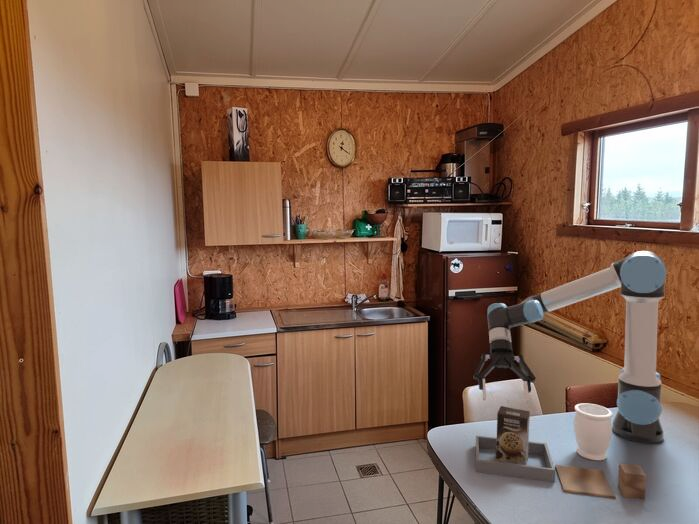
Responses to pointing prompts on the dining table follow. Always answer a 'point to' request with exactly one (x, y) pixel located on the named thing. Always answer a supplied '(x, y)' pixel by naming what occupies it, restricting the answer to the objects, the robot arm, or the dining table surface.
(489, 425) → the dining table surface
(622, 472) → the walnut block
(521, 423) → the cookie box
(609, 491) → the cork mat
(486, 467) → the frame
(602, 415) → the jar
